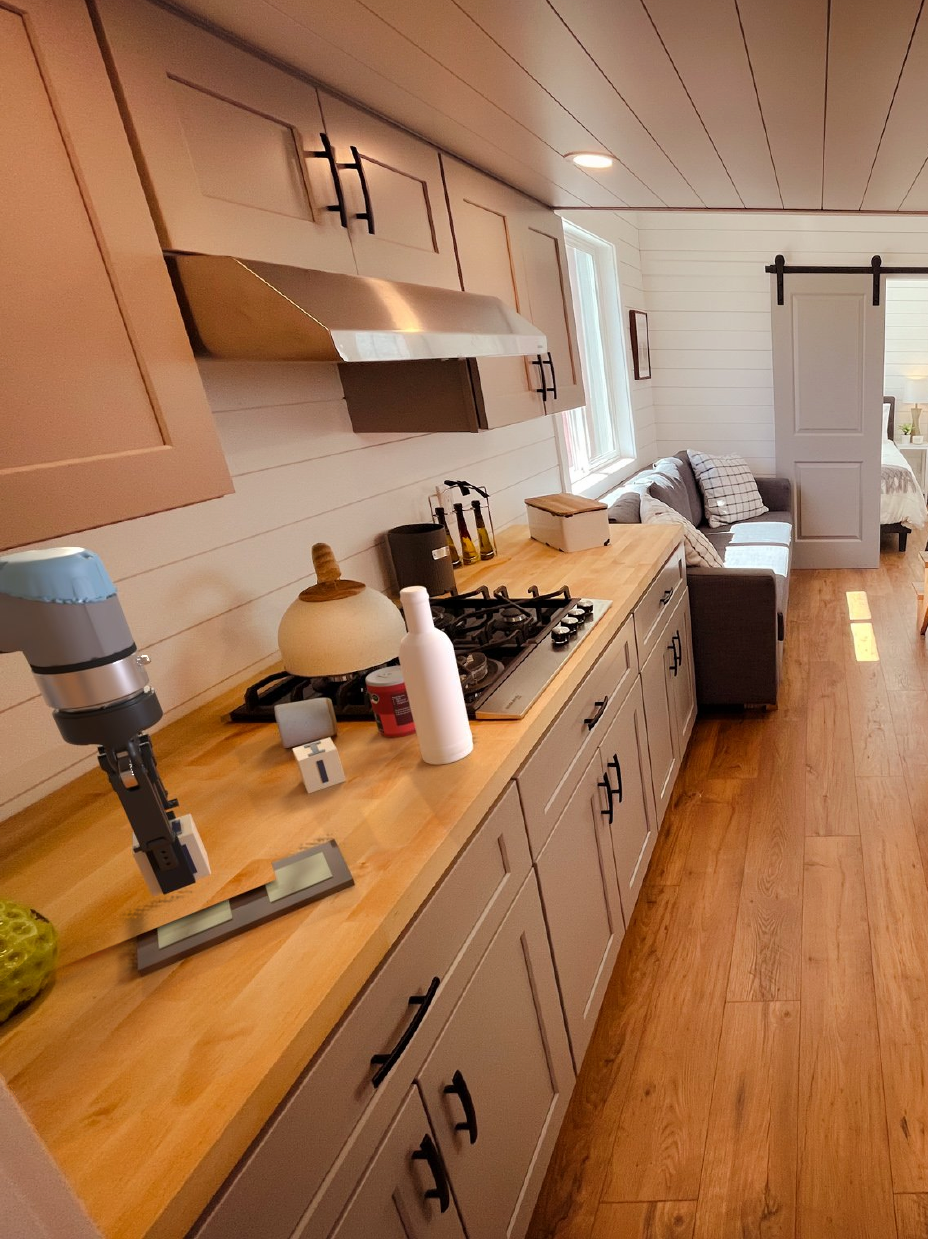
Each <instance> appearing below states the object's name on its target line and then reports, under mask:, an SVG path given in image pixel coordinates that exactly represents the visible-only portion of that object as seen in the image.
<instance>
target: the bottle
mask: <svg viewBox="0 0 928 1239" xmlns="http://www.w3.org/2000/svg"><path fill="white" fill-rule="evenodd" d="M399 596H400V598H399V601H400V603H401V604H402V605H401V606H402V609H403V613H404V618H405V623H406V627H407V631H408V632H406V634H405V635H404V636H403V637H402V638H401V640H400V642H399V647H398V654H397V656H398V660H399V664H400V665H399V666H401V669H402V673H403V678H404V682H405V686H406V690H407V695H408V699H409V703H410V707H411V712H412V716H413V720H414V724H415V729H416V732H415V734H416V736H417V740H418V748H419V752H420V754H421V758H422V761H423V762H425V763H427V764H430V765H434V766H435V765H436V766H438V765H439V766H440V765H441V766H442V765H448V764H451V763H454V762H457V761H460V760H462V759H464V758H465V757H467V756H468V755H469V754H471V753H472V751H473V749H474V742H473V734H472V730H471V728H470V723H469V717H468V713H467V708H466V702H465V700H464V699H465V697H464V694H463V688H462V684H461V679H460V678H461V677H460V674H459V669H458V664H457V658H456V654H455V650H454V644H453V643H452V641H451V639H450V638H449V636H448V635H447V634H446V633H445V632H444V631H442V630H440V629H438V628H437V627H436V626H435V625H434V624H435V623H434V619H433V614H432V609H431V607H430V606H431V605H430V600H429V599H430V595H429V593H428V591H427V588H426V587H425V586H421V585H414V586H407V587H404V588H402V589H401V590H400V591H399Z"/></svg>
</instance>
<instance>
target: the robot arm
mask: <svg viewBox="0 0 928 1239" xmlns="http://www.w3.org/2000/svg"><path fill="white" fill-rule="evenodd" d="M16 652H17V653H18V652H21V653H22V654H23V655H24V657H25V659H26V661H27V663H28V665H29V667H30V669H31V670H30V672H31V675H32V676H33V678H34V680H35V683H36V685H37V687H38V690H39V691H40V694H41V696H42V698H43V700H44V703H45V705H46V706H47V707H48V708H51V709H53V711H52V712H51V716H52V718H53V720H54V722H55V724H56V727H57V729H58V731H59V733H60V735H61V737H62V740H63V741H64V742H65V743H67V744H69V745H73V746H83V747H84V746H92V745H95V746H97V747H96V748H97V752H98V755H97V756H96V759H97V761H98V763H99V767H100V769H101V770H102V771H103V772H105V773H106V774H107V779H108V780H107V781H108V782H109V783H110V785H111V787H112V790H113V791H114V792H115V793H116V795H117V796H118V799H119V802H120V804H121V806H122V809H123V811H124V814H125V815H126V818H127V820H128V822H129V824H130V827H131V829H132V831H133V833H134V834H135V836H136V838H137V840H138V843H139V845H137V846H134V847H133V848H132V852H133V851H134V853H137V852H140V851H142V852H143V853H146V856H147V858H148V860H149V863H150V865H151V867H152V869H153V872H154V874H155V876H156V878H157V881H158V883H159V885H160V888H161V890H162V892H163V893H162V895H163V896H165V895H168V894H170V893H173V892H175V891H178V890H182V889H183V888H186V887H189V886H192V885H194V884H196V883H197V880H195V877H194V875H193V872H192V870H191V868H190V865H189V863H188V860H187V858H186V855H185V853H184V851H183V848H182V846H181V843H180V841H179V838H178V836H177V834H176V833H175V832H173V831H172V828H171V825H170V823H169V821H170V820H172V819H175V818H177V816H176V814H175V811H174V810H173V809H174V808H177V807H180V803H179V800H178V797H175V798H172V799H168V797H169V792H168V790H167V789H166V787H165V786H164V782H163V781H162V777H161V776H160V773H159V771H158V769H157V766H158V763H157V758H156V756H155V753H154V750H153V747H154V746H153V741H152V739H151V737H150V734H149V733H148V732H147V733H143V731H147V730H149V729H150V728H152V727H154V726H155V725H156V724H158V723H159V722H160V721H161V719H163V716H164V711H163V709H162V706H161V704H160V700H159V698H158V696H157V693H156V691H155V688H154V687H152V686H151V685H148V684H149V683H150V677H149V674H148V672H147V670H146V667H145V666H146V665H149V664H151V662H152V659H151V657H150V656H148V655H141V656H139V655H140V652H139V650H138V647H137V644H136V642H135V639H134V637H133V635H132V633H131V630H130V627H129V624H128V621H127V618H126V616H125V613H124V609H123V608H122V605H121V602H120V599H119V597H118V588H117V586H116V585H115V583H113V581H112V579H111V577H110V575H109V573H108V571H107V568H106V566H105V565H104V563H103V560H102V558H101V557H100V556H99V555H98V554H97V553H96V552H95V551H93V550H90V549H87V548H83V547H75V546H74V547H73V546H72V547H71V546H67V547H65V546H64V547H63V546H62V547H51V548H44V549H38V550H37V549H36V550H27V551H21V552H16V553H10V554H7V555H3V556H0V655H3V654H12V653H16ZM171 809H172V810H171ZM168 810H169V811H168Z"/></svg>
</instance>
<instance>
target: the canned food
mask: <svg viewBox="0 0 928 1239" xmlns="http://www.w3.org/2000/svg"><path fill="white" fill-rule="evenodd" d="M365 684H366V689H367V693H368V696H369V700H370V705H371V708H372V712H373V716H374V720H375V723H376V726H377V730H378V732H379V733H380V735H382V736H384V737H387V738H400V737H406V736H410V735H412V734H416V729H415V724H414V720H413V716H412V712H411V707H410V703H409V699H408V695H407V690H406V686H405V682H404V678H403V673H402V669H401V665H393V666H387V667H382V668H380V669H377V670H374V671H372V672H370V673H369V674H368V675H367V676H365Z"/></svg>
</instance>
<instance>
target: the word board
mask: <svg viewBox="0 0 928 1239" xmlns="http://www.w3.org/2000/svg"><path fill="white" fill-rule="evenodd" d="M271 866H272V869H273V872H274V876H275V878H276V879H273V880H271V881H269V882H266V883H264V884H261V885H258V886H256V887H254V888H251V889H249V890H246V891H244V892H241V893H239V894H237V895H234V896H231V897H229V898H227V899H224V900H221V901H218V902H217V903H214V904H211V905H210V906H206V907H204V908H202V909H199V910H197V911H193V912H192V913H189V914H187V915H184V916H181V917H178V918H177V919H174V920H171V921H169V922H167V923H164V924H162V925H159V926H157V927H154V928H151V929H149V930H147V931H144V932H142V933H139V934H137V935H135V937H136V938H135V939H136V960H137V972H138V974H139V976H140V978H143V977H145V976H148V975H150V974H153V973H154V972H156V971H159V970H161V969H163V968H166V967H168V966H171V965H173V964H175V963H178V962H179V961H183V960H184V959H187V958H189V957H191V956H194V955H196V954H198V953H201V952H203V951H205V950H207V949H209V948H212V947H214V946H217V945H219V944H221V943H223V942H226V941H228V940H231V939H232V938H235V937H238V936H240V935H242V934H245V933H248V932H249V931H251V930H254V929H256V928H259V927H261V926H263V925H265V924H267V923H270V922H272V921H275V920H276V919H279V918H281V917H284V916H286V915H289V914H291V913H293V912H295V911H298V910H300V909H302V908H305V907H307V906H309V905H311V904H314V903H316V902H319V901H321V900H323V899H326V898H328V897H330V896H333V895H334V894H335V895H336V894H337V893H339V892H342V891H344V890H346V889H348V888H351V887H353V886H355V885H356V884H355V880H354V877H353V876H352V875H353V874H352V873H351V871H350V869H349V866H348V865H347V862H346V860H345V858H344V856H343V854H342V851H341V850H340V847H339V845H338V843H337V841H336V839H335V838H333V839H330V840H327V841H325V842H322V843H320V844H317V845H315V846H312V847H309V848H307V849H304V850H302V851H299V852H296V853H294V854H290V855H289V856H285V857H283V858H281V859H278V860H276V861H273V862H271Z"/></svg>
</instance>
